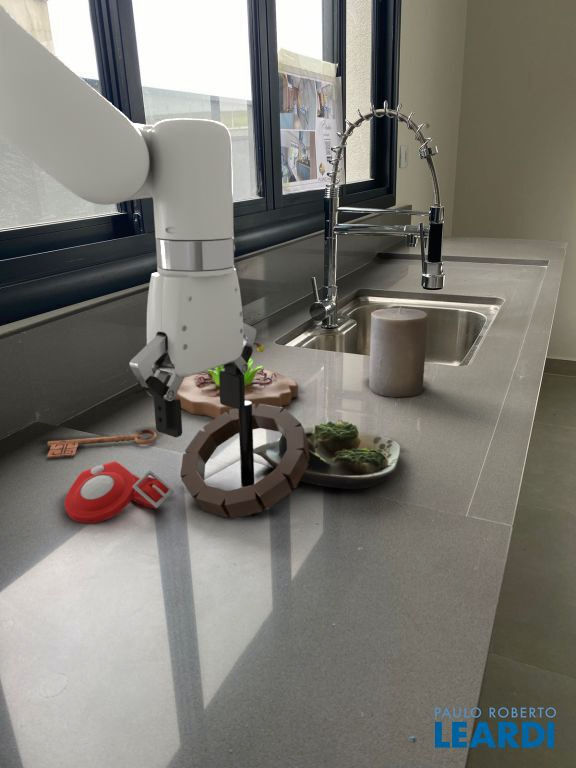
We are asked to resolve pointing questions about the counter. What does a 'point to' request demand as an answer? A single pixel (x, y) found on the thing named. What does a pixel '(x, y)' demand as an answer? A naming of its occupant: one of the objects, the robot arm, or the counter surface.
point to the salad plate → (340, 456)
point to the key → (76, 442)
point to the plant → (259, 385)
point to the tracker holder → (112, 492)
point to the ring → (263, 490)
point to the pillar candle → (397, 351)
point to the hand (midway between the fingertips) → (202, 419)
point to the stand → (242, 460)
